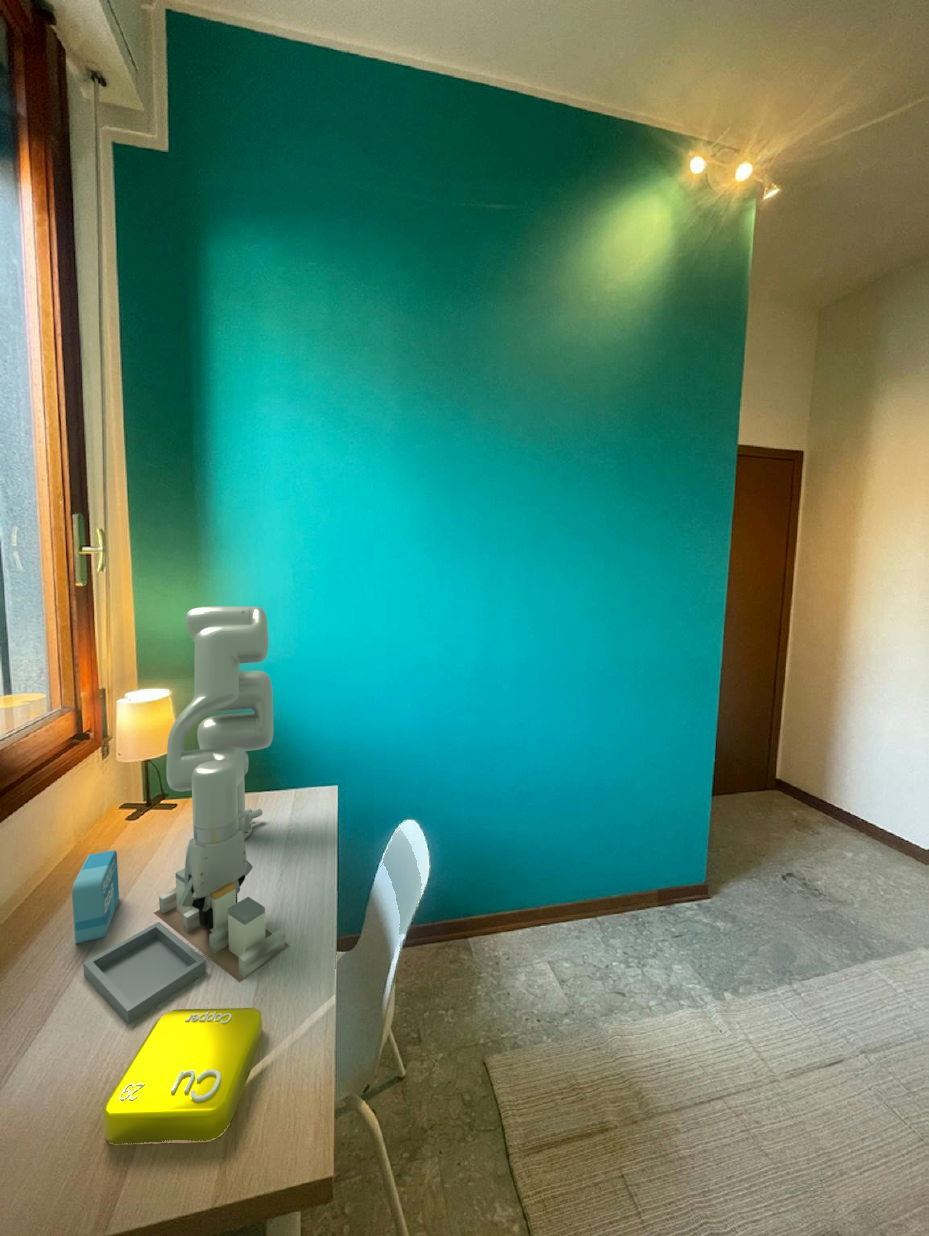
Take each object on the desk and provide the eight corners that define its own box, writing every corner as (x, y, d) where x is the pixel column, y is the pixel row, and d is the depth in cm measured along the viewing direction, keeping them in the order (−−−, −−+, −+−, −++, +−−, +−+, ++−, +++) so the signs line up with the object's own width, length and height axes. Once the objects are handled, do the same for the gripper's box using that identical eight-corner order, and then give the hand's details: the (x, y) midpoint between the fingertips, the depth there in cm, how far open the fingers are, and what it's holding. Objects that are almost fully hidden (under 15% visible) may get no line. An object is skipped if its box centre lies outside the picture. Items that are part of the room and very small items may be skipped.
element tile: (266, 1032, 76) (265, 1003, 76) (223, 1145, 62) (222, 1110, 61) (164, 1034, 76) (163, 1005, 75) (97, 1149, 61) (94, 1114, 60)
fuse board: (203, 890, 108) (202, 873, 108) (290, 949, 92) (289, 930, 92) (153, 916, 100) (153, 898, 99) (239, 986, 84) (239, 965, 84)
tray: (159, 936, 95) (158, 921, 94) (206, 976, 86) (206, 960, 86) (84, 979, 85) (83, 963, 84) (128, 1029, 76) (127, 1011, 76)
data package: (105, 942, 93) (101, 881, 92) (75, 949, 91) (71, 886, 90) (119, 901, 104) (116, 846, 103) (93, 907, 102) (89, 851, 101)
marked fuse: (221, 912, 99) (220, 874, 98) (236, 922, 96) (235, 883, 95) (201, 924, 96) (200, 884, 95) (216, 935, 93) (215, 895, 92)
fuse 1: (196, 899, 104) (195, 863, 103) (210, 909, 101) (209, 871, 100) (177, 910, 101) (175, 872, 100) (190, 920, 98) (189, 882, 97)
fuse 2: (249, 936, 94) (248, 896, 93) (265, 948, 91) (264, 907, 90) (229, 950, 91) (227, 908, 90) (245, 962, 88) (244, 920, 87)
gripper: (245, 805, 103) (247, 888, 105) (158, 841, 89) (163, 937, 91) (268, 816, 99) (269, 902, 101) (181, 856, 85) (184, 956, 87)
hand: (219, 918), depth 96 cm, fingers closed on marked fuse, 4 cm apart
